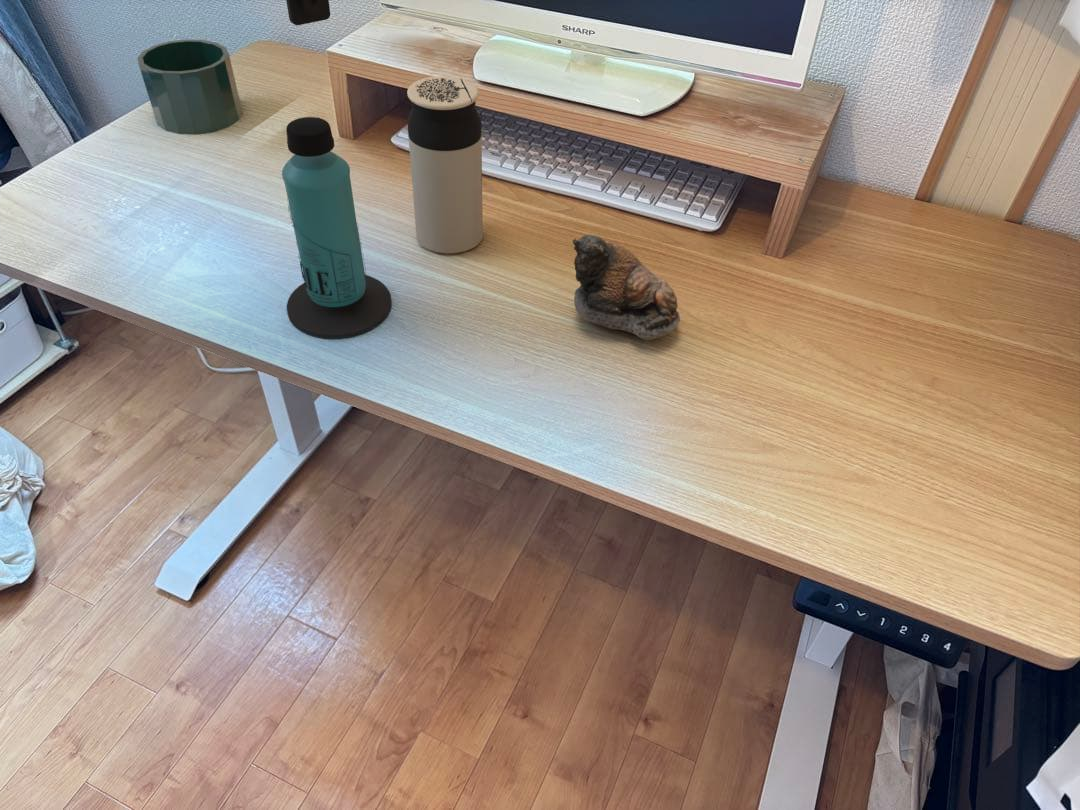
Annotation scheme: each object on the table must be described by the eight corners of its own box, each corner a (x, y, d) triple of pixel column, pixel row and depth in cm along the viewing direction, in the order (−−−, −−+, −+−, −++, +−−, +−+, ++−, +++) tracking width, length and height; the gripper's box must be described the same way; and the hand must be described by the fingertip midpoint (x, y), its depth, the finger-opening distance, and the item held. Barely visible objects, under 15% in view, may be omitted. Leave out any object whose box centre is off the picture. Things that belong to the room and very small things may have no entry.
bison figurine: (680, 317, 87) (697, 238, 79) (671, 358, 82) (688, 278, 75) (573, 296, 88) (581, 218, 81) (558, 335, 84) (565, 255, 76)
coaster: (359, 350, 81) (358, 346, 80) (266, 322, 83) (265, 318, 83) (409, 290, 88) (409, 286, 87) (323, 267, 90) (322, 262, 90)
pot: (211, 152, 108) (191, 79, 101) (142, 135, 110) (118, 63, 103) (260, 118, 116) (245, 48, 108) (195, 103, 118) (176, 34, 111)
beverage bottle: (376, 286, 87) (353, 110, 73) (360, 323, 83) (333, 143, 68) (318, 280, 88) (284, 104, 73) (299, 317, 83) (259, 137, 69)
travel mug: (417, 257, 92) (405, 107, 80) (416, 220, 98) (404, 74, 85) (485, 254, 93) (483, 106, 81) (480, 218, 99) (478, 74, 86)
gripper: (129, -292, 54) (192, -22, 66) (238, -260, 45) (288, 47, 57) (234, -292, 58) (276, -35, 70) (354, -261, 49) (378, 27, 61)
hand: (281, 2), depth 64 cm, fingers open, 9 cm apart
